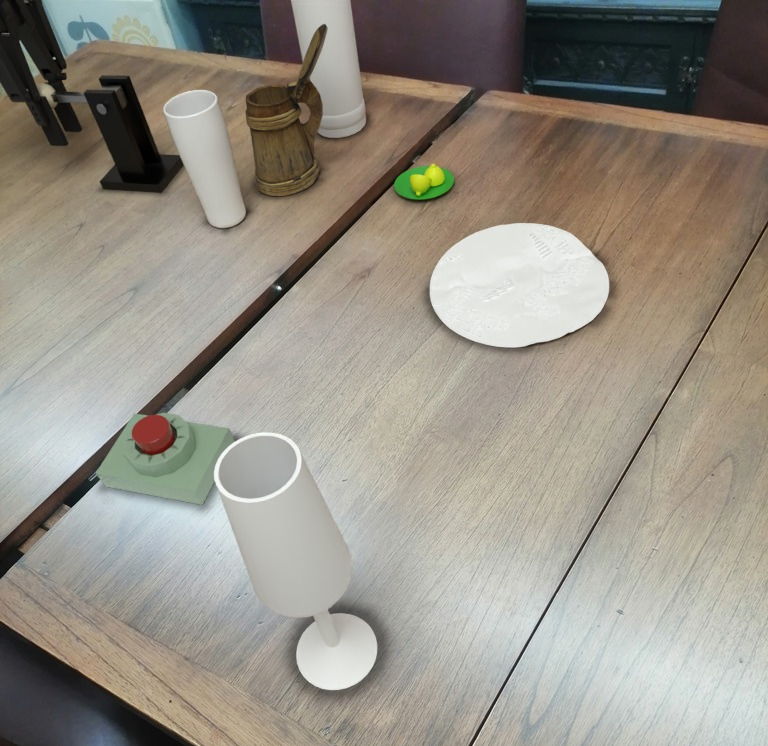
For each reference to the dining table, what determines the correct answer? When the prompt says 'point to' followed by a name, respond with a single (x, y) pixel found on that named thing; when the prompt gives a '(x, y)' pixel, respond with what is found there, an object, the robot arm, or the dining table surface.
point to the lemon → (424, 182)
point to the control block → (167, 461)
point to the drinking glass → (206, 154)
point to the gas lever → (75, 95)
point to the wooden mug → (286, 128)
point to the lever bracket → (129, 140)
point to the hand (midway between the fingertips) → (66, 137)
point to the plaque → (518, 285)
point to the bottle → (333, 64)
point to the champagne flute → (294, 554)
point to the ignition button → (153, 434)
